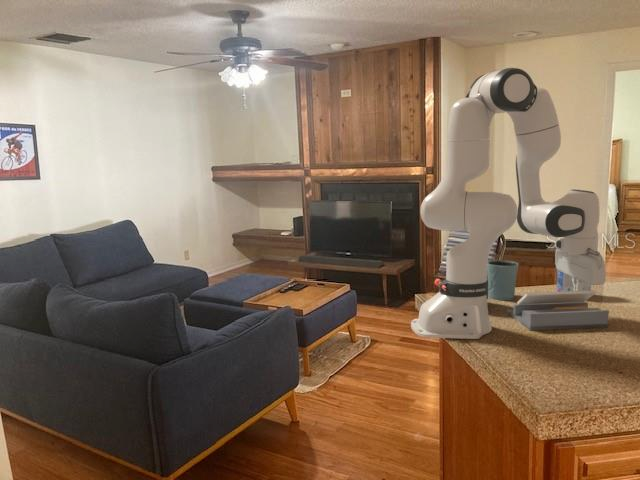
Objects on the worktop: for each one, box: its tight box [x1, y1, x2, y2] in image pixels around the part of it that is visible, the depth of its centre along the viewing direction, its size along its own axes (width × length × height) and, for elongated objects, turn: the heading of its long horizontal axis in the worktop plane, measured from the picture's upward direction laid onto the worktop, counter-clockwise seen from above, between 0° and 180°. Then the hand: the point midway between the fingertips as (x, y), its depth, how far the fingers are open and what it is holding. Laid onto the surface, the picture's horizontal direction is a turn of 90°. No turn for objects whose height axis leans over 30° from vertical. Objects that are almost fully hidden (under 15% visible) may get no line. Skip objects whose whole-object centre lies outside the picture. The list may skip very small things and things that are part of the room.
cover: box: [516, 289, 597, 305], centre depth 149 cm, size 20×8×1 cm
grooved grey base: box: [507, 301, 610, 331], centre depth 150 cm, size 22×16×5 cm
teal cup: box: [487, 259, 520, 301], centre depth 175 cm, size 10×10×12 cm
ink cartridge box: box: [556, 269, 592, 292], centre depth 173 cm, size 10×6×14 cm, turn 89°
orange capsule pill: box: [552, 306, 587, 310], centre depth 149 cm, size 11×3×3 cm, turn 92°
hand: (578, 292), depth 148 cm, fingers closed, pressing on cover
